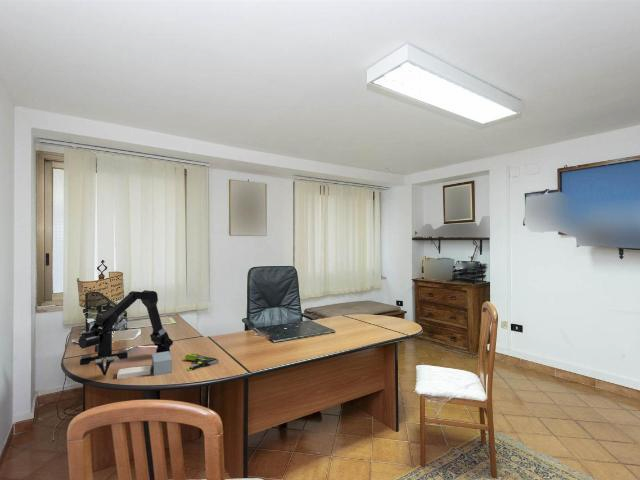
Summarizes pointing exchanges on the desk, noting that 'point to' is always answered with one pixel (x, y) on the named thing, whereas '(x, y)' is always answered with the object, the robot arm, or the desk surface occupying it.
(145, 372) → the tile
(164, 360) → the overhang
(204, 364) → the toy gun
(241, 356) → the desk surface
